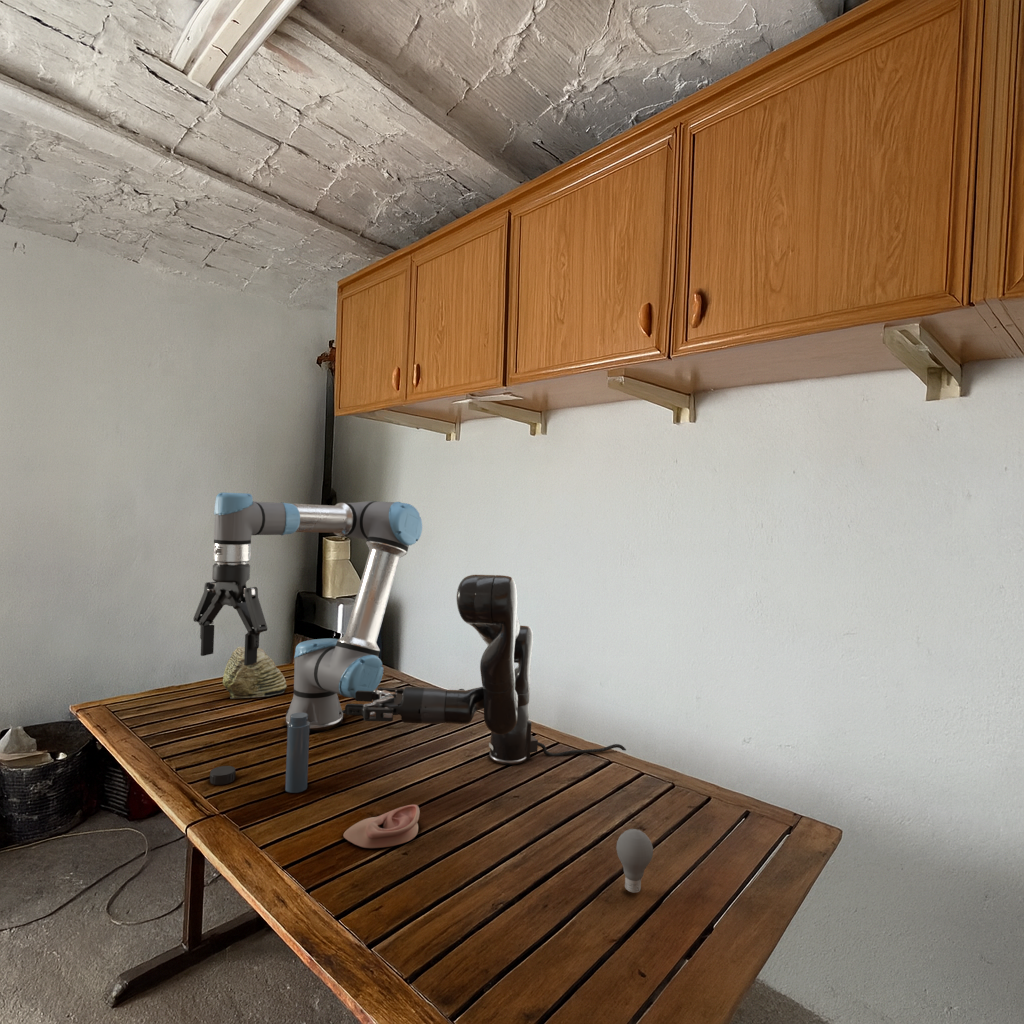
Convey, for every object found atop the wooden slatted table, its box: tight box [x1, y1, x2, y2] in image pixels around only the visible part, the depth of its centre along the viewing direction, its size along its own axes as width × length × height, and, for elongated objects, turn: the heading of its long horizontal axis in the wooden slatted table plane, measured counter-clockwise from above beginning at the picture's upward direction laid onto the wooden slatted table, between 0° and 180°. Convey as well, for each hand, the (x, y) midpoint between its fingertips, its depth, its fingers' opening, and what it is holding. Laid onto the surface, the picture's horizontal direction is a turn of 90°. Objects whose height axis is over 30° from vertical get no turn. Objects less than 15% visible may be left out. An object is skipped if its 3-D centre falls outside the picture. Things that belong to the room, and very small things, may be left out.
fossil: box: [222, 646, 288, 699], centre depth 198 cm, size 9×18×15 cm, turn 132°
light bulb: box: [615, 828, 654, 894], centre depth 106 cm, size 6×6×10 cm
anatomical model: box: [342, 804, 421, 849], centre depth 120 cm, size 13×4×12 cm
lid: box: [209, 765, 237, 786], centre depth 139 cm, size 5×5×2 cm
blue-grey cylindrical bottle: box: [284, 712, 310, 794], centre depth 137 cm, size 5×5×16 cm
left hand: (228, 659), depth 139 cm, fingers open, 13 cm apart
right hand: (350, 702), depth 137 cm, fingers open, 8 cm apart
